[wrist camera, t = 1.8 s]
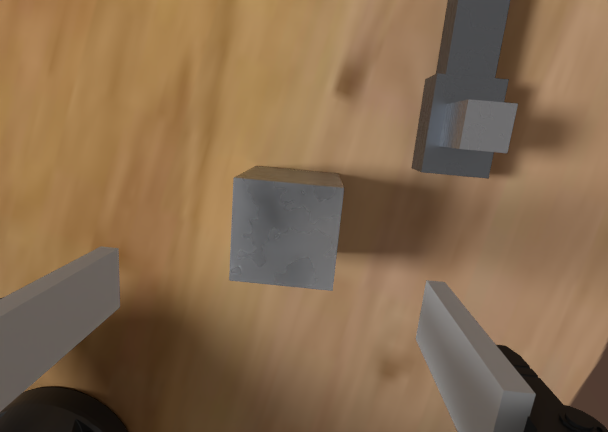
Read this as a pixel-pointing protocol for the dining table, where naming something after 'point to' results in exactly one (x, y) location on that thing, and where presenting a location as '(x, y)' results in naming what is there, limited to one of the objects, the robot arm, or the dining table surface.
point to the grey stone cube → (285, 227)
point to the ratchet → (466, 94)
